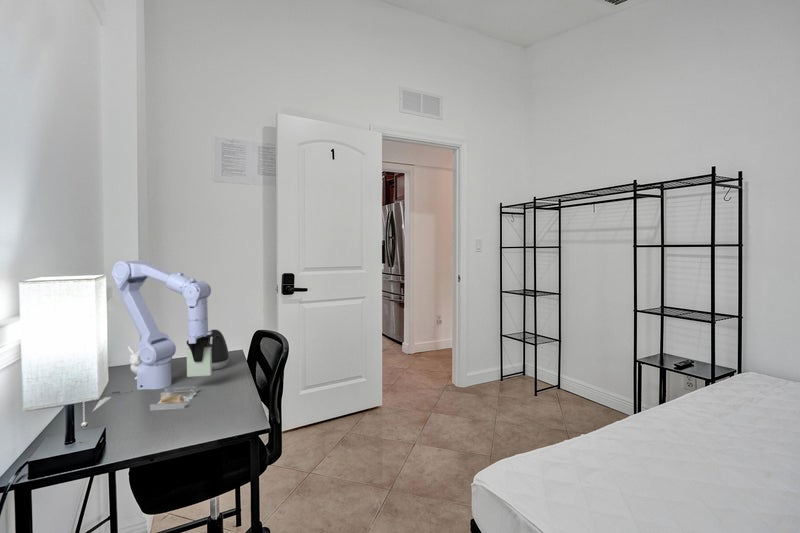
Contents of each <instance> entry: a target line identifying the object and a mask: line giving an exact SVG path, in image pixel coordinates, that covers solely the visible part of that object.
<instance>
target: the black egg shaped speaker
mask: <svg viewBox="0 0 800 533" xmlns="http://www.w3.org/2000/svg"><path fill="white" fill-rule="evenodd" d="M210 331H212V334H211V335H206V336H210V339H209V341H208V343H207V346H206V347H211V352H212V371H217V370H221V369H223V368H224V367H226V365H227V363H228V360H229V359H230V358H229V357H230V355H229V349H228V344H227V342H226V339H225V337H224V334H223V333H222V332H221V330H219V329H215V328H214V329H210Z"/></svg>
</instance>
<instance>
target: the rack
mask: <svg viewBox="0 0 800 533" xmlns="http://www.w3.org/2000/svg"><path fill="white" fill-rule="evenodd" d="M199 390H200V388H197V386H195V385H194V386H182V387H181V386H180V387H179V386H177V387H165V388H164V391H161V392H160V399H159V401H158V402H157V403H151V404H149V411H160V410H161V411H163V410H177V409H185V408H186V407H187V405H188V404H189V403H190V402H191V400H192V399H193V398H194V397H195V395H196V394H197V393H198V392H199ZM167 395H182V398H184V402H175V403H160V404H158V403H159V402H160V401H161V398H162V397H163V396H167Z"/></svg>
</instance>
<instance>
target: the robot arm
mask: <svg viewBox="0 0 800 533" xmlns="http://www.w3.org/2000/svg"><path fill="white" fill-rule="evenodd" d="M111 276H112V278H113V280H114V282H115V284H116V287H117V292H118V295H119V297H120V299H121V301H122V302H123V305H124V306H125V309H126V310H127V312H128V315H129V316H130V319H131V320H132V322H133V325H134V326H135V328H136V330H137V332H138V334H139V336H140V338H141V339H140V341H139V342H138V344H137V349H138V350H139V353H140V358H141V360H142V362H144V363H140V364H139V366H138V369H137V374H136V376H137V379H136V390H139V391H140V390H160V389H165V388H169V387H170V386H171V385H172V360H173V356H174V355H175V354H176V351H177V346H176V344H175V342H174V341H173V340H172V339H171V338H169V335H168V334H166V333H165V332H162V331H160V329H159V328H158V326H157V324H156V321H155V320H154V318H153V316H152V314H151V312H150V309H149V308H148V305H147V304H146V302H145V299H144V298H143V296H142V294H141V291H140V289H141V287H142V286H143V285H144V283H145V282H146V281H147V279H148V278H151V279H152V280H155V281H159V282H161V283H164V284H166V288H168V289H169V290H171V291H173V292H176V293H178V294H180V295H181V296H182V295H183V297H184V300H185V301H186V305H187V324H188V326H187V327H188V333H187V337H188V339H187V341H186V345H187V346H188V348H190V350H191V352H192V356H193V359H194V362H201V361H202V358H203V350H204V347H206V346H207V343H208V341H209V339H210V336H206V335H211V334H212V331H211V330H209V319H208V318H209V315H208V314H209V312H208V298H209V297H210V295H211V293H212V288H211V285H210V284H209V283H207V282H206V281H205V280H200V281H197V280H196V278H193V277H191V278H190V277H189V276H187V275H186V276H185V275H184V272H182V271H181V272H179V271H178V272H174V273H170V272H168V271H166V270H164V269H162V268H161V267H159V266H156V265H155V264H153V263H152V262H150V261H147V260H144V259H140V260H126V261H124V260H120V261H116V262H115V264H114V265H113V268H112V270H111Z"/></svg>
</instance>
